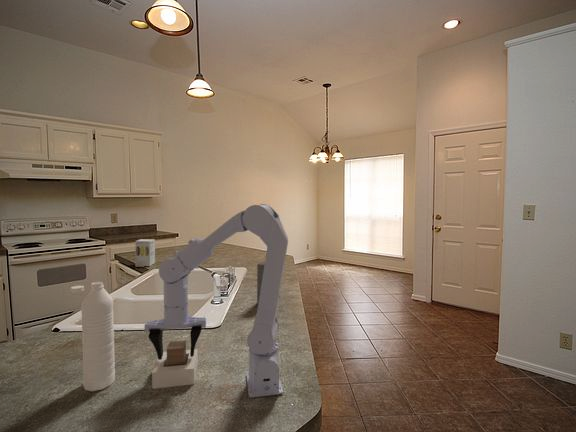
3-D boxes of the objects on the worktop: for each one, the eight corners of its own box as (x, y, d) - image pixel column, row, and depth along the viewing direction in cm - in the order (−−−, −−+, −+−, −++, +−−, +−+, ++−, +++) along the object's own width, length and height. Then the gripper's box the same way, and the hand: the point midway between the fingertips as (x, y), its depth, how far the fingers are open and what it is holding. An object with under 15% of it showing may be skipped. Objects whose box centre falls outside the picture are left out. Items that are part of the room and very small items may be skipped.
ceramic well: (194, 384, 72) (194, 368, 72) (152, 388, 70) (152, 372, 70) (197, 362, 82) (197, 348, 81) (160, 366, 80) (160, 352, 79)
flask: (266, 306, 124) (267, 259, 123) (254, 304, 127) (255, 258, 126) (283, 296, 138) (283, 253, 136) (272, 294, 140) (272, 252, 139)
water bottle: (105, 372, 77) (103, 277, 75) (120, 380, 73) (118, 281, 72) (67, 391, 69) (63, 286, 68) (81, 401, 66) (78, 290, 64)
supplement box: (134, 267, 190) (134, 240, 189) (140, 263, 199) (140, 238, 198) (150, 266, 191) (150, 241, 190) (155, 263, 200) (155, 239, 199)
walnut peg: (183, 378, 75) (183, 347, 74) (167, 380, 74) (166, 349, 73) (186, 369, 79) (185, 340, 78) (170, 371, 78) (169, 341, 77)
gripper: (206, 297, 80) (206, 345, 81) (149, 300, 77) (150, 350, 78) (205, 306, 73) (205, 359, 74) (141, 310, 70) (142, 365, 71)
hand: (176, 356), depth 76 cm, fingers open, 7 cm apart
